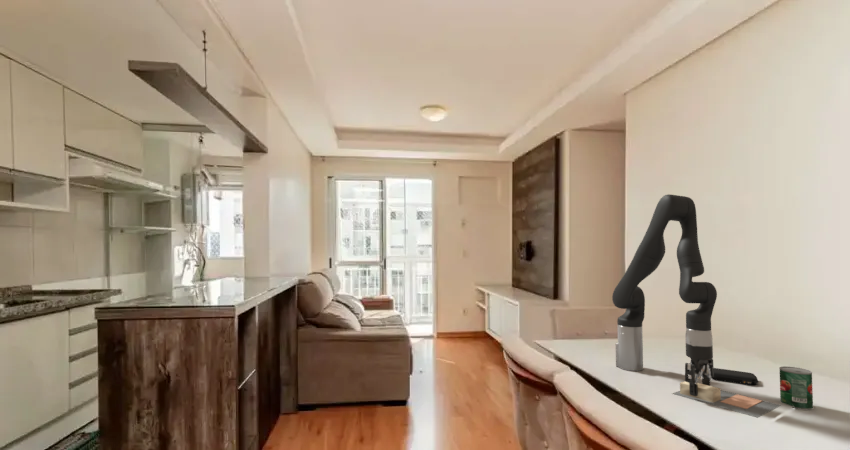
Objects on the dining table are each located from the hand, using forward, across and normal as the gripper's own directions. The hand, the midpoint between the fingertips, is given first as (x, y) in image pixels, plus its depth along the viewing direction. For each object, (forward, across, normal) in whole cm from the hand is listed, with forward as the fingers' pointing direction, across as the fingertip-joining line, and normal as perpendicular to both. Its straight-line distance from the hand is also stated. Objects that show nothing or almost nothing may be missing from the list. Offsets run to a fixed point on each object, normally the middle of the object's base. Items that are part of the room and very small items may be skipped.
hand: (700, 392), depth 142 cm
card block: (+1, 0, 0) cm, 1 cm away
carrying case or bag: (+2, -31, -3) cm, 32 cm away
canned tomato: (+2, -19, +20) cm, 27 cm away
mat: (+2, -4, +6) cm, 7 cm away
